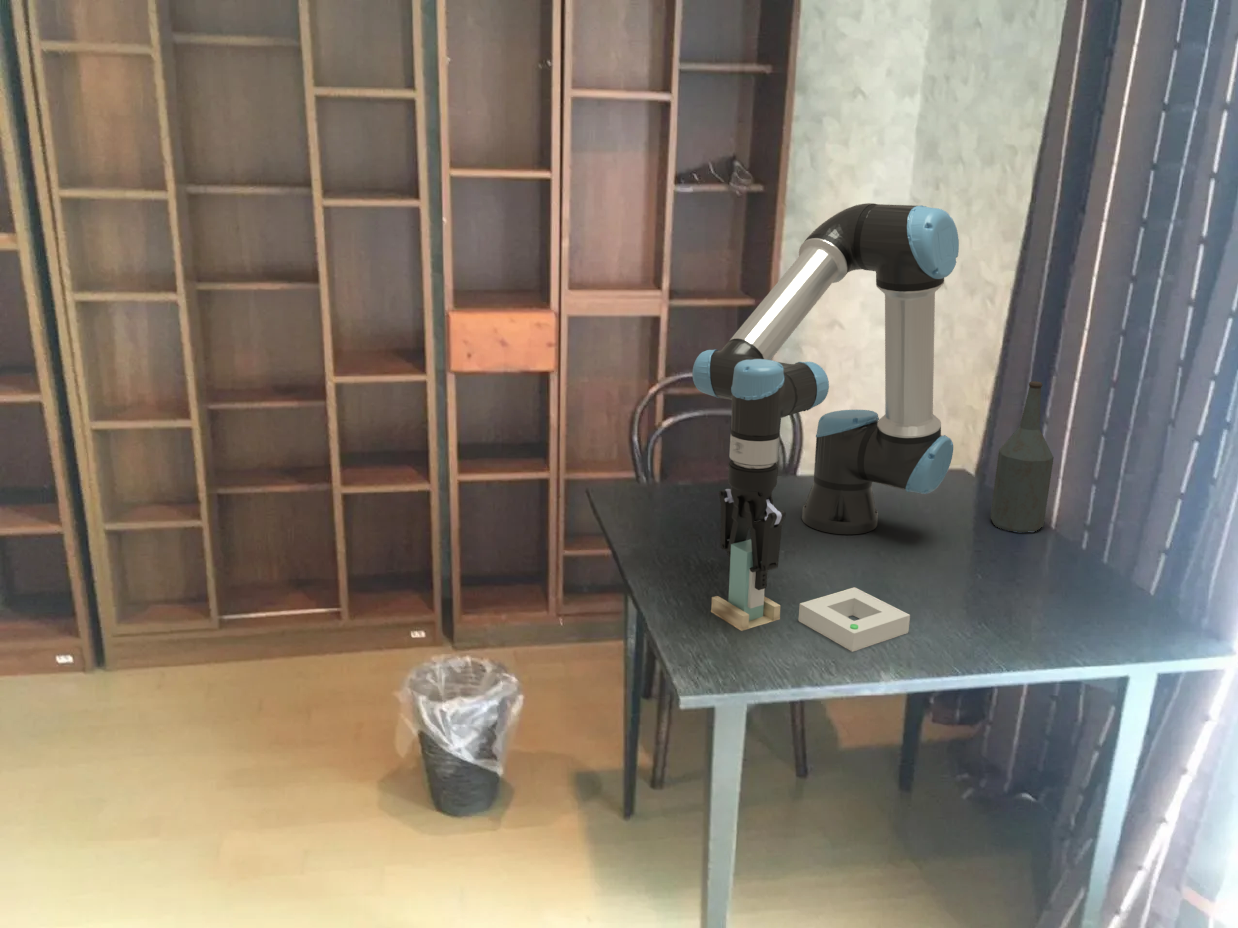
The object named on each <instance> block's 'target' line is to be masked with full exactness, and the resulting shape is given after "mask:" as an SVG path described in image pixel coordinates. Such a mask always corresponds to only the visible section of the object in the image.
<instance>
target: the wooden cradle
mask: <svg viewBox="0 0 1238 928" xmlns="http://www.w3.org/2000/svg"><path fill="white" fill-rule="evenodd" d="M710 612H711V613H712V614H713V615H715V616H716V617H719V619H722V620H723V621H725V622H726V623H728V624H729V625H731V626H733V628H734V627H735V628H736V629H738V630H739V631H741V632H743V631H746V630H749V629H753V628H755V627H759V626H762V625H766V624H768V623H772V622H775V621H778V620H781V617H780V616H781V605H780V604H779V603H777V602H775V601H773V600H772V599H770V598H768V597H766V596H765V595H764V607H763V617H760V618H757V619H754V620H750V621H749V614H747V613H746V612H744V611H742V610H741V609H739V608H737V607H736V606H734V605H732V604H731V603H729V602H728V600H726V599H724V598H723V597H720V596H719V595H716V596H712V597H711V610H710Z"/></svg>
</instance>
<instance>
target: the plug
mask: <svg viewBox="0 0 1238 928" xmlns="http://www.w3.org/2000/svg"><path fill="white" fill-rule="evenodd" d="M752 567H753V557H752V545H751V538H750V539H746V541H742V542H738V543H734V544H731V557H730V574H729V580H728V581H729V582H728V583H729V584H728V585H729V586H728V598H727V599H728V600H727V602H729V603H731V604H732V605H734V606H736V607H737V608H739V609H741V610H742V611H744V612H746V613H747V614H749V621H750V620H754V619H757V618H760V617H763V607H764V605H761V606H757V607H754V608H751V609H750V608H749V607H748V588H749V570H750V568H752Z"/></svg>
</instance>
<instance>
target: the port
mask: <svg viewBox="0 0 1238 928" xmlns="http://www.w3.org/2000/svg"><path fill="white" fill-rule="evenodd" d="M798 605H799V608H798V609H799V610H798V622H799V623H801V624H803V625H805V626H806V627H808V628H810V629H811V630H814V631H815V632H817V633H819V634H821V635H822V636H824V637H826V638H827V639H830V640H831V641H833V643H836V644H838V645H840V646H841V647H843V648H845V649H846V650H849V651H850V652H851V653H853V652H856V651H859V650H863V649H864V648H868V647H871V646H874V645H877V644H879V643H882V642H885V641H888V640H891V639H894V638H897V637H899V636H903V635H905V634H906V635H907V634H908V633H909V631H910V630H909V628H910V622H911V621H910V619H911V614H909V613H907V612H905V611H903V610H901V609H899V608H897V607H895V606H893V605H891V604H889V603H887V602H885V601H883V600H882V599H881V600H880V599H879V598H877V597H875V596H873V595H871V594H869V593H866V592H865V591H863V590H861V589H859V588H857V587H851V588H847V589H845V590H841V591H838V592H834V593H831V594H827V595H824V596H821V597H817V598H813V599H810V600H807V601H803V602H800V603H799V604H798ZM851 616H852V617H853V616H854V617H856V618H858V619H857V620H853V619H852V618H849V617H851Z"/></svg>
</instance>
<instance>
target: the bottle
mask: <svg viewBox="0 0 1238 928" xmlns="http://www.w3.org/2000/svg"><path fill="white" fill-rule="evenodd" d="M1028 386H1029V388H1028V392H1027V395H1026V399H1025V404H1024V407H1023V411H1022V415H1021V419H1020V424H1019V426H1018V428H1016V430H1015V431H1014V432H1013V433H1012V434H1011V436H1010V437H1009V438H1008V439H1007V440H1006V441H1005V443H1004V444H1003V445H1002V446H1001V447H1000V448H999V450H998V455H997V463H996V469H995V476H994V477H995V478H994V485H993V493H992V494H993V495H992V501H991V507H990V508H991V509H990V515H989V517H990V519H991V521H992V523H993V525H995V526H996V528H997V527H998V528H997V529H999V528H1000V530H1002V529H1005V530H1004V531H1006V530H1009V531H1017V532H1028V531H1036V532H1038V531H1039V530H1038V529H1040V528H1041V527H1042V528H1043V527H1044V525H1045V518H1046V512H1047V504H1048V498H1049V492H1050V483H1051V478H1052V477H1051V476H1052V472H1053V464H1054V455H1053V453H1052V451H1051V449H1050V447H1049V445H1048V443H1047V441H1046V439H1045V438H1044V435H1043V433H1042V431H1041V399H1042V398H1041V397H1042V396H1041V394H1042V393H1041V392H1042V387H1043V383H1042V382H1040V381H1034V380H1033V381H1030V382H1028ZM995 526H994V527H995ZM1001 528H1002V529H1001ZM1042 528H1041V529H1042ZM1041 529H1040V530H1041ZM1037 530H1038V531H1037ZM1009 531H1008V532H1009Z"/></svg>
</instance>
